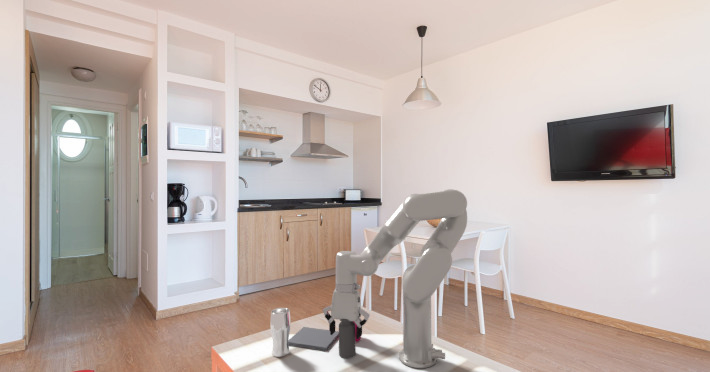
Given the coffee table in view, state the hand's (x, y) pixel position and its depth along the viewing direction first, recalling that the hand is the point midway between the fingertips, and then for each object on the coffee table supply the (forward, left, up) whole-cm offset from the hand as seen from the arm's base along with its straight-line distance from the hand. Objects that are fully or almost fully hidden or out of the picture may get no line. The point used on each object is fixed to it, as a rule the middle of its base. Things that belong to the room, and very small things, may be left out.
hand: (345, 335), depth 120 cm
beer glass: (+22, +6, -7) cm, 24 cm away
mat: (+15, -7, -7) cm, 18 cm away
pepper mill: (+1, -12, -7) cm, 14 cm away
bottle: (-1, 0, -7) cm, 7 cm away
